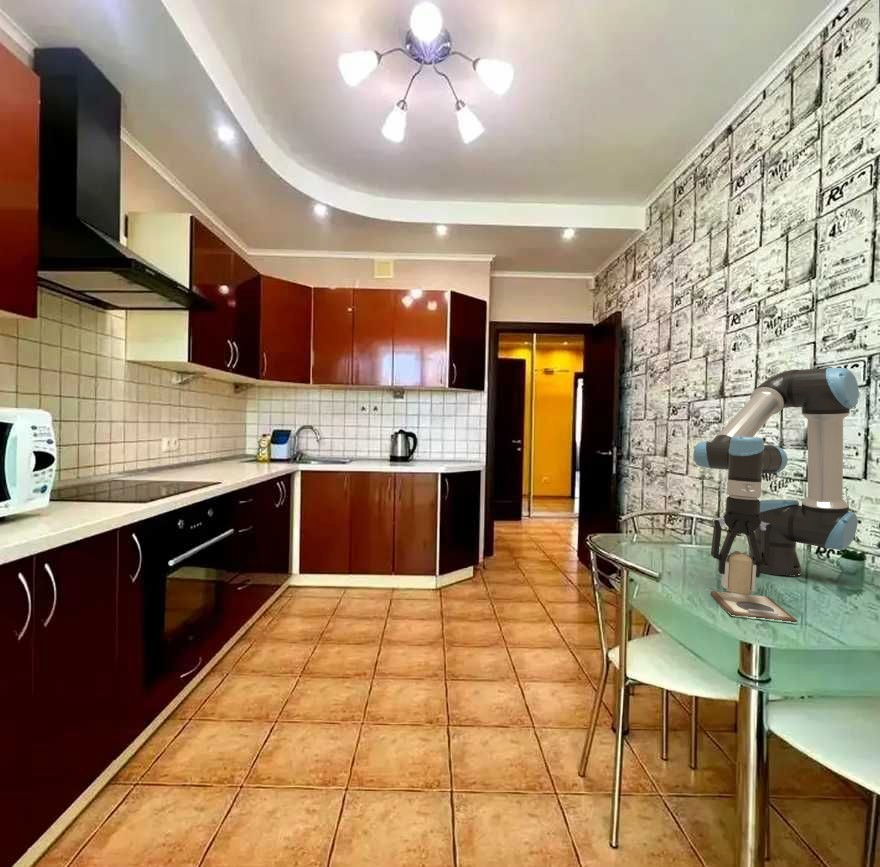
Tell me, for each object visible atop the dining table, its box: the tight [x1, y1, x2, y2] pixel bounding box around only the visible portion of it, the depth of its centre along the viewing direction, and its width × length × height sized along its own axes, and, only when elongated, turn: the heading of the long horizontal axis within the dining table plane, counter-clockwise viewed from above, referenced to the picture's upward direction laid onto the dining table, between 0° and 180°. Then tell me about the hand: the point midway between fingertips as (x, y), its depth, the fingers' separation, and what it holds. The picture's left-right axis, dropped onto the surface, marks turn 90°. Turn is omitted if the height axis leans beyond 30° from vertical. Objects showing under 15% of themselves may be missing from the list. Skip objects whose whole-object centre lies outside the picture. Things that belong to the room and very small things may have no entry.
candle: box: [725, 550, 752, 595], centre depth 137 cm, size 6×6×10 cm
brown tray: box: [709, 590, 798, 623], centre depth 135 cm, size 14×18×2 cm
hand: (737, 588), depth 137 cm, fingers closed on candle, 5 cm apart
